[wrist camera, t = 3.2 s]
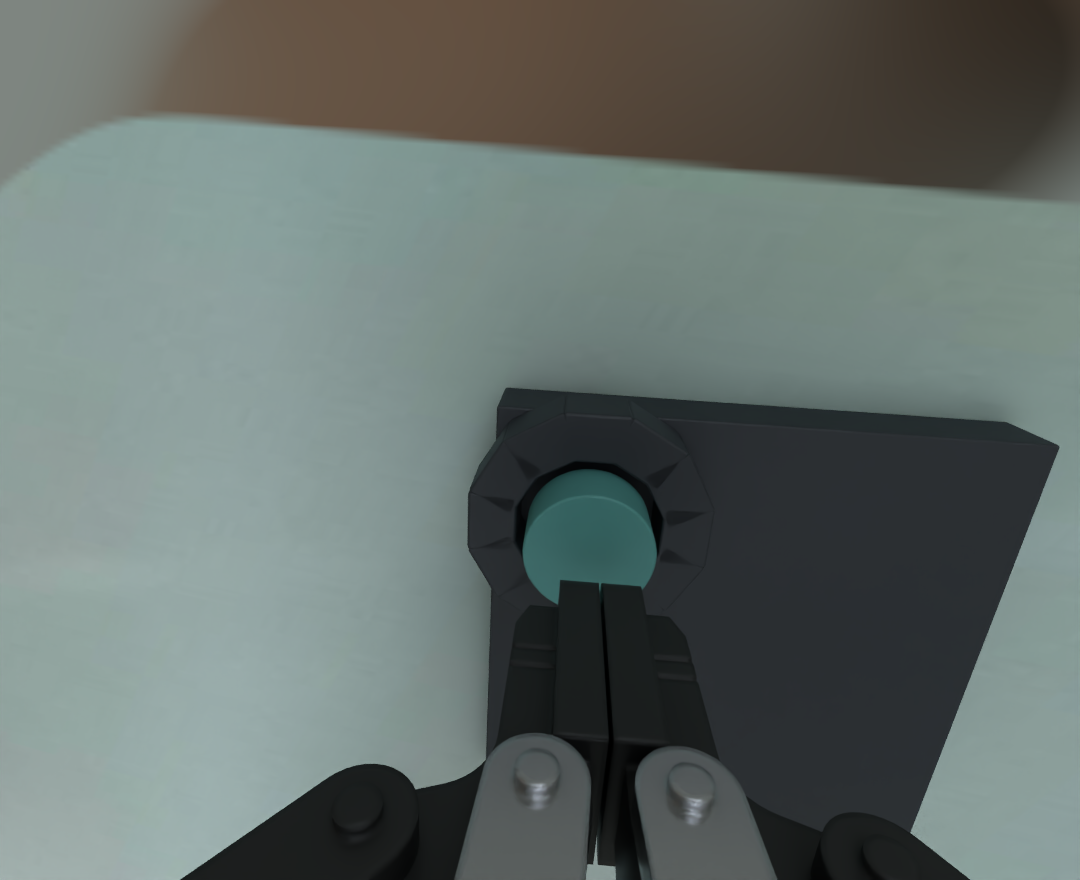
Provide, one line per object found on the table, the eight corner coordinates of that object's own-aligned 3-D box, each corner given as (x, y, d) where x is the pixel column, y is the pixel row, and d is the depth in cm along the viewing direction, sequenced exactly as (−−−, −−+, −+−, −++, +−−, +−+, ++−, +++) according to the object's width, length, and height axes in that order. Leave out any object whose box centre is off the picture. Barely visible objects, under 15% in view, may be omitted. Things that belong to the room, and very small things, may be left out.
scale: (490, 370, 16) (469, 406, 13) (1012, 406, 16) (1126, 451, 13) (480, 754, 21) (462, 849, 18) (878, 791, 21) (935, 895, 18)
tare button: (530, 463, 14) (525, 490, 12) (655, 472, 14) (665, 501, 12) (524, 571, 15) (519, 607, 14) (641, 580, 15) (648, 618, 13)
